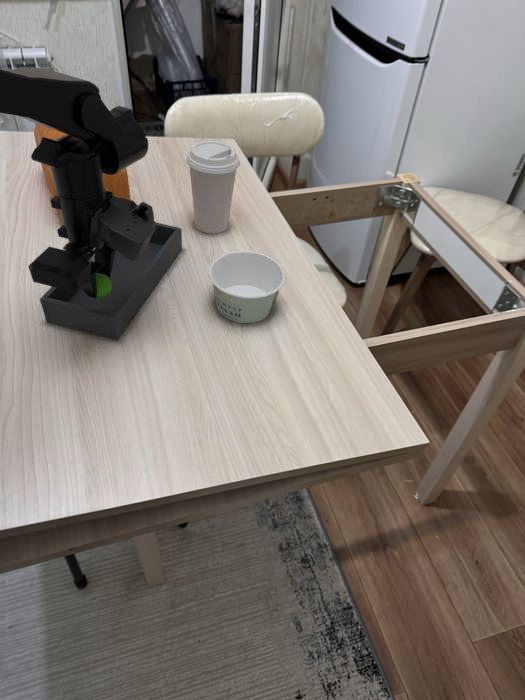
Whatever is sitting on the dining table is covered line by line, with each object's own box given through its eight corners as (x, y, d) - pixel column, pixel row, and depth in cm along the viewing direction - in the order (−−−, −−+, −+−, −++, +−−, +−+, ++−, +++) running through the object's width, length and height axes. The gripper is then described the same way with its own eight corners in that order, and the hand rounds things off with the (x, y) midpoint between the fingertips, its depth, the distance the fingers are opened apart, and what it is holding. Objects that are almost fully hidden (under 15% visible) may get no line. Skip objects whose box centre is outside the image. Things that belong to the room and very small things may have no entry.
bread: (62, 234, 89) (42, 149, 78) (41, 170, 105) (22, 91, 94) (136, 223, 94) (128, 141, 83) (106, 163, 110) (95, 88, 99)
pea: (83, 299, 70) (79, 279, 67) (95, 285, 72) (92, 265, 70) (106, 305, 69) (102, 285, 67) (117, 290, 72) (114, 271, 69)
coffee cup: (198, 242, 91) (199, 165, 81) (179, 216, 97) (177, 141, 86) (243, 232, 95) (249, 158, 85) (223, 209, 101) (226, 136, 90)
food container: (194, 313, 77) (194, 280, 73) (228, 274, 85) (230, 242, 81) (262, 339, 75) (266, 307, 70) (291, 296, 83) (296, 265, 78)
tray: (46, 322, 73) (39, 299, 70) (123, 235, 91) (120, 214, 87) (117, 341, 72) (114, 318, 68) (182, 249, 89) (181, 228, 86)
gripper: (105, 242, 51) (121, 346, 63) (172, 170, 64) (176, 266, 76) (10, 220, 53) (43, 325, 64) (95, 153, 66) (110, 250, 77)
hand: (99, 289), depth 70 cm, fingers closed on pea, 3 cm apart
